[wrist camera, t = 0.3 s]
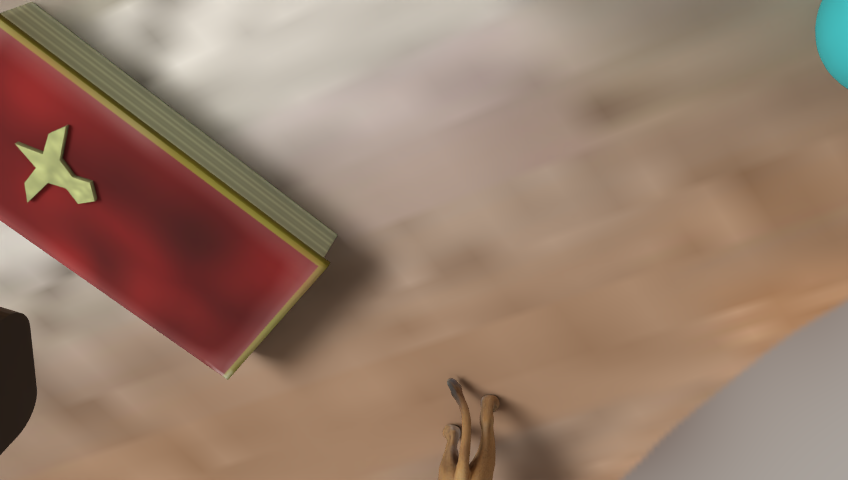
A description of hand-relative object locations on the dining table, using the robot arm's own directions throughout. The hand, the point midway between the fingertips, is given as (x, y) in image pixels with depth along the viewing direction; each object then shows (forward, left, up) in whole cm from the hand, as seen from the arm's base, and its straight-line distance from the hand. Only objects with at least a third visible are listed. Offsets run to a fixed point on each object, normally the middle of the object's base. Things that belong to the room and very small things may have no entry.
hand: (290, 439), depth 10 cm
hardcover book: (+16, -18, -29) cm, 38 cm away
